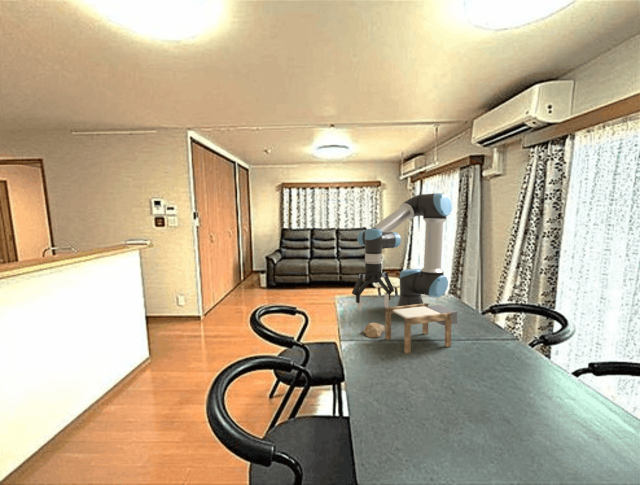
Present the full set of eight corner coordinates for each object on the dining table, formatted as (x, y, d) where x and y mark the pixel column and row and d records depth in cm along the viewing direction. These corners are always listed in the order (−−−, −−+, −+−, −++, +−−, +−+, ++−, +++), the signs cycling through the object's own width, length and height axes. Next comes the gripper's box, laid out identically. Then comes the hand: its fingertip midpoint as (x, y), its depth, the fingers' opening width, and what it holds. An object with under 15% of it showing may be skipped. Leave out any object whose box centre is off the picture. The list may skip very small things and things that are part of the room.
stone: (386, 332, 167) (386, 322, 166) (377, 339, 158) (377, 329, 157) (370, 329, 171) (370, 320, 171) (360, 336, 162) (360, 326, 162)
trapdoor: (438, 314, 163) (438, 304, 162) (458, 324, 150) (458, 312, 149) (392, 320, 156) (392, 309, 155) (409, 330, 143) (409, 318, 142)
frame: (426, 332, 164) (426, 303, 163) (451, 346, 147) (451, 313, 146) (385, 338, 158) (385, 307, 156) (406, 353, 141) (406, 319, 140)
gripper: (393, 260, 169) (393, 304, 171) (344, 262, 162) (344, 308, 164) (401, 262, 162) (401, 308, 164) (351, 265, 155) (351, 313, 156)
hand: (373, 308), depth 164 cm, fingers open, 13 cm apart
